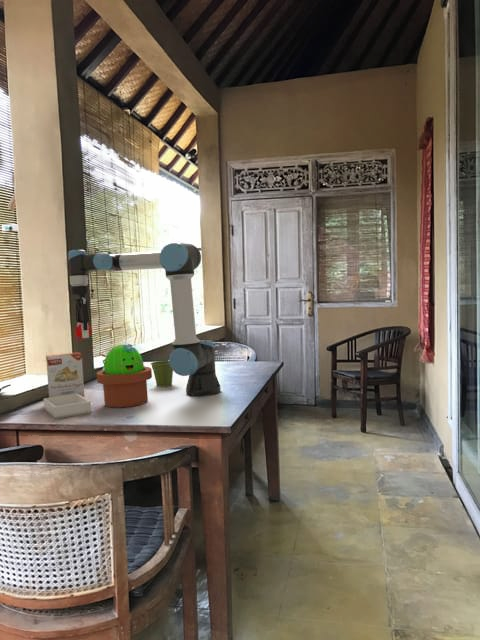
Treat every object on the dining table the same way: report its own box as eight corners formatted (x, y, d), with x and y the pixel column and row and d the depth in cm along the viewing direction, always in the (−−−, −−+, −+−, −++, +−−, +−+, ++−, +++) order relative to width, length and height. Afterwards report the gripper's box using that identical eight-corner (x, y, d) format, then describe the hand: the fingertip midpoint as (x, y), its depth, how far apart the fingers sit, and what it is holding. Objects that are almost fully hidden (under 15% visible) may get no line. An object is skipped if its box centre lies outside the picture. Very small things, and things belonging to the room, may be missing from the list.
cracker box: (51, 406, 210) (47, 356, 208) (49, 403, 215) (45, 355, 214) (85, 401, 216) (81, 352, 215) (82, 398, 222) (79, 351, 220)
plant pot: (178, 382, 247) (177, 359, 246) (173, 387, 235) (171, 363, 235) (155, 383, 248) (154, 360, 248) (148, 388, 237) (147, 364, 236)
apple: (71, 327, 218) (89, 319, 221) (71, 329, 224) (87, 321, 227) (79, 341, 218) (96, 333, 221) (78, 342, 224) (94, 335, 227)
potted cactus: (93, 402, 212) (88, 344, 210) (142, 394, 223) (139, 338, 221) (107, 412, 193) (102, 348, 191) (161, 403, 204) (157, 342, 203)
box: (91, 412, 194) (90, 401, 194) (55, 419, 187) (54, 407, 187) (77, 403, 212) (76, 393, 211) (44, 409, 204) (43, 398, 204)
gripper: (93, 284, 215) (98, 337, 216) (82, 285, 232) (86, 335, 233) (75, 285, 211) (80, 339, 212) (65, 286, 228) (70, 336, 229)
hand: (83, 337), depth 223 cm, fingers closed on apple, 7 cm apart
